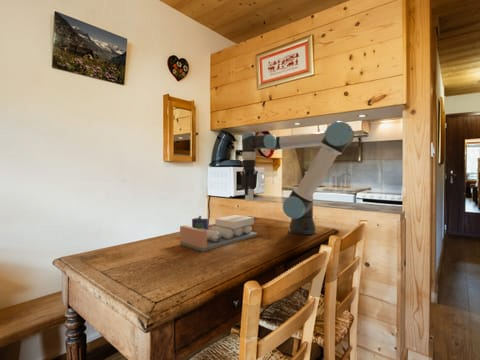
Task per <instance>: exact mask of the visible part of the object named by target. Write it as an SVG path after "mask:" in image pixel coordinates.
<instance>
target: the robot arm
mask: <svg viewBox="0 0 480 360" xmlns="http://www.w3.org/2000/svg"><path fill="white" fill-rule="evenodd" d="M354 137H355V133H354V130H353V128H352V126H351V125H350V124H349V123H347V122H346V121H345V122H344V121H343V120H342V121H341V120H340V121H339V120H337V121H334V122H331V123H330V124H329V125H328V126H327V127H326V130H325V131H320V132H318V131H317V132H309V133H308V132H306V133H300V134H299V133H298V134H290V135H281V136H276V135H275V134H273V133H272V134H269V133H268V134H260V135H257V134H256V133H255V132H254V131H252V132H251V131H244V132H243V133H242V135H241V148H242V151H241V152H242V153H241V157H242V163H241V166H242V170H241V171H239V174H240V181H241V185H240V186H241V188H242V190H244V196H245V197H244V200H245V202H250V201H254V194H255V189H256V188H257V182H258V170H256V169H255V167H256V160H255V159H256V150H259V149H261V150H265V149H266V150H271V151H278V150H283V149H285V150H287V149H298V148H309V147H310V148H311V147H312V148H313V147H320V149H319V151H318V152H317V154H316V156H315V158H314V159H313V161H312V163H311V164H310V166H309V168H308V170H307V171H306V172H305V174H304V176H303V178H302V179H301V181H300V183H299V184H298V186H297V187H296V188H292V191H291V192H290V193H289V196H288V197H286V198H285V199H284V201H283V203H282V210H283V212H284V214H285V215H286V216H287V217H288V218H290V219H291V221H290V223H289V226H288V227H289V228H288V231H289V233H291V234H296V235H303V236H304V235H313V234H316V233H317V227H316V225H315V221H314V210H313V209H314V194H315V192H316V191H317V189H318V187H319V186H320V184H321V183H322V181H323V180H324V177H325V176H326V175H327V173H328V171H329V169H330V168H331V166H332V164H333V163H334V161H335V160H336V158H337V157H338V156H340V155H342V154H344V153H343V152H344V151H345V150H346V148H347V147H348V146H350V145H351V144H352V143H353V141H354Z"/></svg>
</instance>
